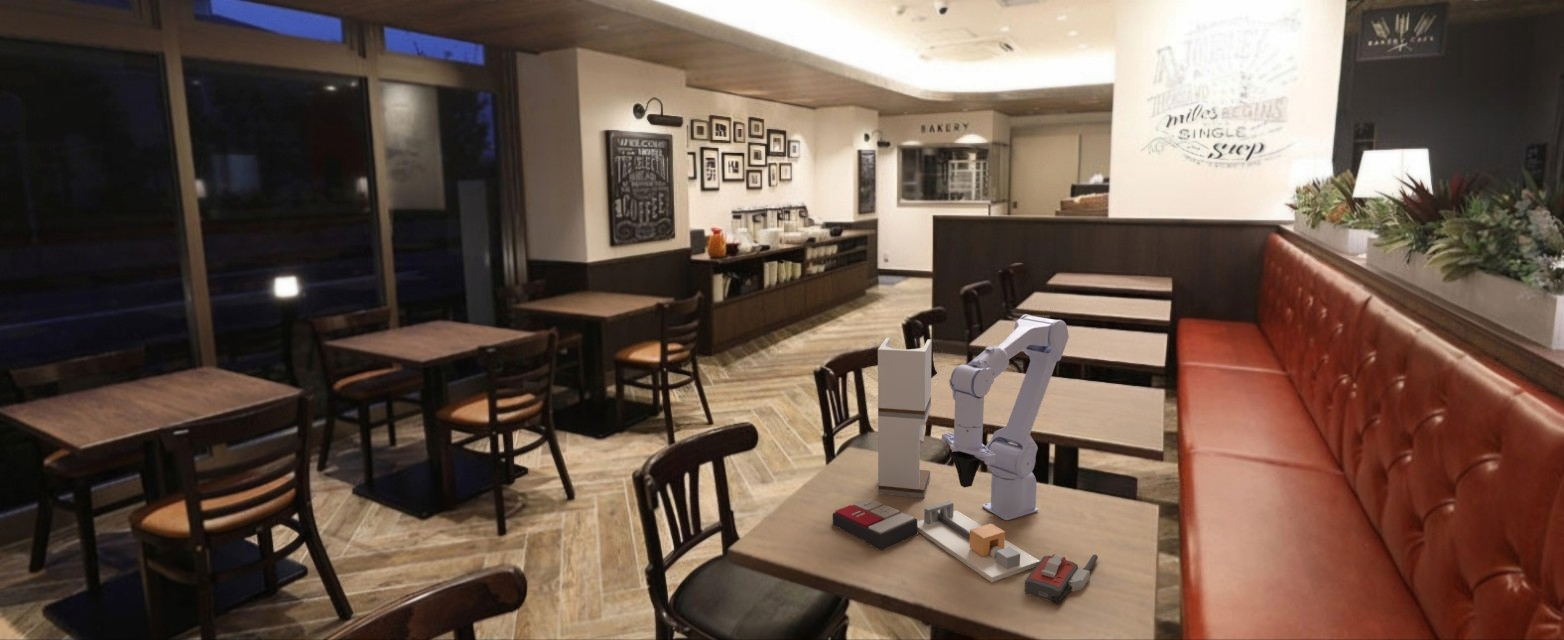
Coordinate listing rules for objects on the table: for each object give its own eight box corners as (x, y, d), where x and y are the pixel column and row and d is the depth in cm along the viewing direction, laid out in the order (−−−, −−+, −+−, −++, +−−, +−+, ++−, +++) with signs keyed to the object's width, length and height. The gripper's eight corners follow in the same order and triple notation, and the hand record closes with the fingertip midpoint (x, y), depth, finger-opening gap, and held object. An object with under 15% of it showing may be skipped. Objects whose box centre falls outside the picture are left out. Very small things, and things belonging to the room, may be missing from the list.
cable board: (956, 514, 175) (956, 496, 174) (1039, 565, 153) (1040, 545, 152) (911, 527, 169) (911, 509, 168) (991, 582, 148) (992, 561, 147)
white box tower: (923, 498, 183) (925, 351, 176) (878, 493, 186) (877, 349, 179) (929, 478, 194) (931, 339, 186) (886, 474, 197) (886, 337, 189)
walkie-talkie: (1069, 613, 138) (1101, 563, 154) (1070, 590, 137) (1102, 543, 153) (1019, 597, 143) (1055, 551, 159) (1020, 575, 142) (1056, 531, 158)
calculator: (868, 495, 178) (918, 515, 166) (869, 513, 178) (918, 534, 167) (831, 509, 171) (880, 531, 159) (832, 528, 172) (881, 551, 160)
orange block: (990, 541, 160) (991, 523, 159) (1004, 549, 157) (1005, 531, 156) (969, 547, 158) (969, 529, 157) (983, 556, 154) (983, 538, 153)
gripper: (930, 416, 166) (929, 477, 169) (976, 437, 154) (974, 502, 157) (957, 411, 170) (955, 470, 172) (1004, 431, 157) (1001, 495, 160)
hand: (966, 485), depth 165 cm, fingers closed
